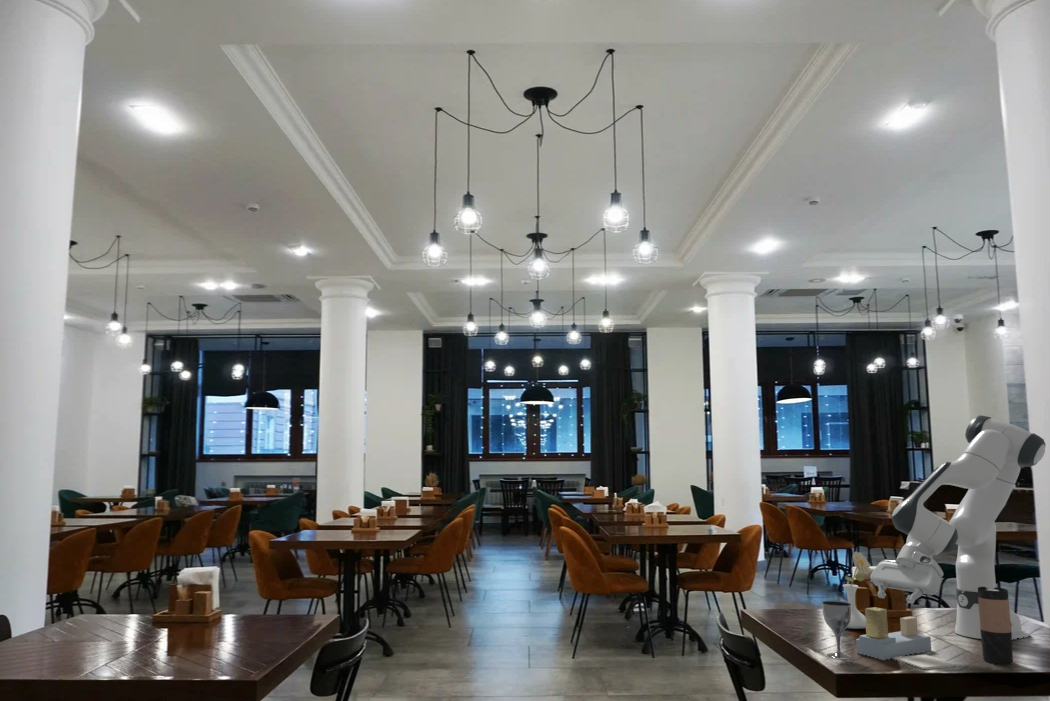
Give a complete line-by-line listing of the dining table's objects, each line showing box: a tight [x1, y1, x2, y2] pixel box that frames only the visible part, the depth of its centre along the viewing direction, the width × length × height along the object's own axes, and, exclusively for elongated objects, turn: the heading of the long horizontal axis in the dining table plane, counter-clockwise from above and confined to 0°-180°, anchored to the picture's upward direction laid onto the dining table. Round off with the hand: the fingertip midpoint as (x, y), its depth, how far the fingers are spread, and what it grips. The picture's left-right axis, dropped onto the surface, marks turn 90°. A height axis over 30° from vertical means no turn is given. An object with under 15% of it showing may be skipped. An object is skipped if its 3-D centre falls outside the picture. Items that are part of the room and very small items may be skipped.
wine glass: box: [821, 600, 852, 659], centre depth 227 cm, size 8×8×15 cm
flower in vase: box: [842, 551, 871, 630], centre depth 265 cm, size 13×11×25 cm
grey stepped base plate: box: [855, 615, 932, 661], centre depth 232 cm, size 22×9×9 cm, turn 119°
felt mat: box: [892, 653, 956, 670], centre depth 219 cm, size 11×11×1 cm
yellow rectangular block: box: [864, 606, 889, 639], centre depth 229 cm, size 4×4×9 cm
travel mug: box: [978, 586, 1014, 665], centre depth 221 cm, size 8×8×20 cm
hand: (894, 599), depth 232 cm, fingers open, 8 cm apart
